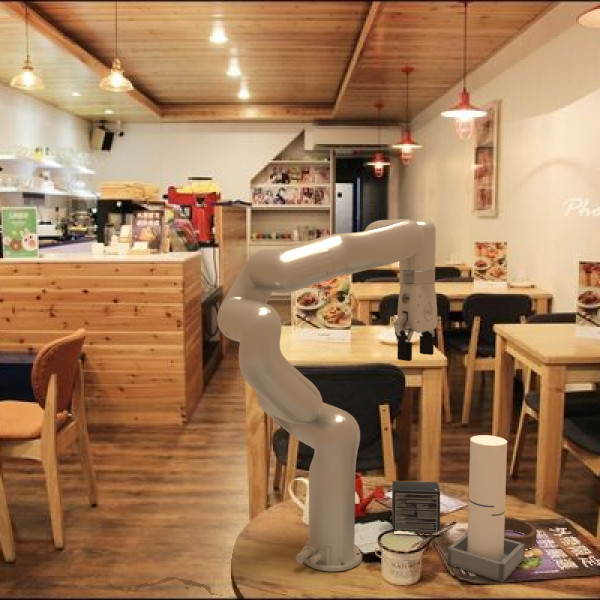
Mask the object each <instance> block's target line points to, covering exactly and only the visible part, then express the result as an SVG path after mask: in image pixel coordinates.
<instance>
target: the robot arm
mask: <svg viewBox="0 0 600 600" xmlns="http://www.w3.org/2000/svg"><path fill="white" fill-rule="evenodd" d="M436 233H437V230H436V225H435V223H434V222H431V221H425V220H424V221H423V220H421V221H420V220H417V221H415V220H412V219H407V218H406V219H402V218H401V219H400V218H398V219H396V218H395V219H380V220H379V219H378V220H376V221H373V222H371V223H369V224H368V225H367V226H366V228H365V229H364V231H357V232H341V233H334V234H329V235H324V236H321V237H318V238H315V239H311V240H307V241H305V242H302V243H298V244H295V245H291V246H288V247H285V248H281V249H280V248H279V249H260V250H258V251H256V252H255V253H253V254H252V255H251V256H250V257H249V259H248V260H247V261H246V262H245V264H244V265H243V267H242V269H241V270H240V272H239V273H238V275H237V277H236V279H235V280H234V282H233V284H232V286H231V287H230V289H229V290H228V292H227V294H226V295H225V298H224V299H223V301H222V302H221V304H220V307H219V309H218V312H217V317H216V318H217V319H216V320H217V327H218V329H219V331H220V332H221V334H222V335H223V336H225V337H226V338H228V339H229V340H232V341H234V342H238V343H239V347H238V367H239V370H240V374H241V376H242V377H243V379H244V380H245V382H246V384H248V385H249V386H250V388H252V389H253V391H255V392H256V399H257V403H258V404H259V407H260V408H261V409H262V410H263V412H264V413H266V414H267V415H268V416H269V417H270V418H271V419H272V420H273V421H275V422H276V423H277V424H278V425H279V426H280V427H281V428H282V429H284V430H286V432H288V433H289V434H290V435H291V436H292V437H294V438H295V439H296V440H297V441H299V442H301V443H302V444H305V445H307V446H309V447H310V448H312V449H314V454H313V457H312V460H311V461H310V462H311V463H310V465H309V468H308V469H309V470H308V540H306V545H304V546H303V548H302V549H301V551H300V552H299V553H297V554H296V555H295V561H296V563H297V564H306V566H308V567H309V568H313V569H315V570H319V571H322V572H323V571H324V572H344V571H348V570H351V569H353V568H355V567H356V566H359V564H361V563H362V559H363V553H362V554H361V553H360V551H359V549H360V550H361V548H360V547H358V545H356V543H355V533H356V532H355V530H356V528H355V527H356V525H355V524H356V523H355V522H356V519H355V518H356V516H355V515H356V464H357V456H358V450H359V446H360V440H361V430H360V425H359V424H358V421H357V420H356V418H355V417H354V416H353V415H352V414H350V412H348V411H346V410H343V409H341V408H339V407H336V406H334V405H331V404H328V403H326V402H324V401H323V397H322V395H321V392H320V391H319V390H318V388H317V386H316V385H315V384H314V383H313V382H312V381H310V379H308V378H307V377H306V376H304V375H303V373H302V372H300V371H299V370H298V369H297V368H296V367H295V366H294V365H293V364H291V362H290V361H289V360H288V359H287V358H286V357H285V356H284V355H283V353H282V349H281V335H282V320H281V317H280V314H279V312H278V311H277V310H276V309H275V308H274V307H273V306H272V305H271V304H268V301H269V299H270V298H271V295H272V294H274V293H275V294H289V293H293V292H296V291H297V292H298V291H299V290H302V289H306V288H308V287H311V286H314V285H317V284H319V283H323V282H326V281H329V280H333V279H335V278H338V277H342V276H346V275H352V274H353V275H354V274H356V273H360V272H363V271H368V270H371V269H377V268H380V267H385V266H388V265H391V264H395V263H398V262H399V282H398V283H399V291H398V293H399V294H398V303H397V317H396V319H395V321H394V322H393V329H394V335H395V337H396V342H397V357H396V359H397V360H399V361H404V362H411V361H413V360H412V359H413V342H412V341H411V340H412V337H413V335H414V332H415V333H416V334H421V335H420V336H419V354H420V355H421V354H422V355H429V356H432V355H434V351H435V350H434V345H435V343H434V342H435V341H434V338H435V336H436V332H435V330H436V328H437V326H438V306H437V291H436V285H435V282H436V236H437V235H436Z"/></svg>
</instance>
